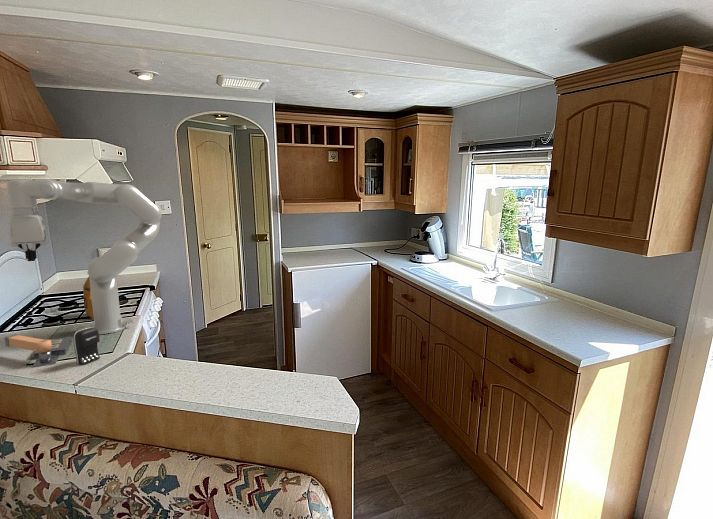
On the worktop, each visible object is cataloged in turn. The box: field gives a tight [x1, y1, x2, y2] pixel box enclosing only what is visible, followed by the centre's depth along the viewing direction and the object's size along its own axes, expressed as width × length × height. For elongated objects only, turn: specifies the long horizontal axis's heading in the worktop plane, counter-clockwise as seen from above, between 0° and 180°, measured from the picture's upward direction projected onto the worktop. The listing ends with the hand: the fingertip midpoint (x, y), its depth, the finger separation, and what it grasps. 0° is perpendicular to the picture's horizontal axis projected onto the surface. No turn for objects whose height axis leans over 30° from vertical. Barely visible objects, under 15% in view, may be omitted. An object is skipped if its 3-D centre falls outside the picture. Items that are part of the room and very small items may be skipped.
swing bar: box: [4, 333, 52, 353], centre depth 132 cm, size 4×20×3 cm, turn 69°
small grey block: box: [32, 350, 60, 368], centre depth 129 cm, size 6×6×4 cm
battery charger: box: [72, 327, 101, 366], centre depth 129 cm, size 7×4×11 cm, turn 161°
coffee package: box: [82, 276, 94, 320], centre depth 183 cm, size 10×12×22 cm
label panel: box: [32, 336, 73, 361], centre depth 141 cm, size 9×15×2 cm, turn 29°
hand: (31, 260), depth 147 cm, fingers closed
